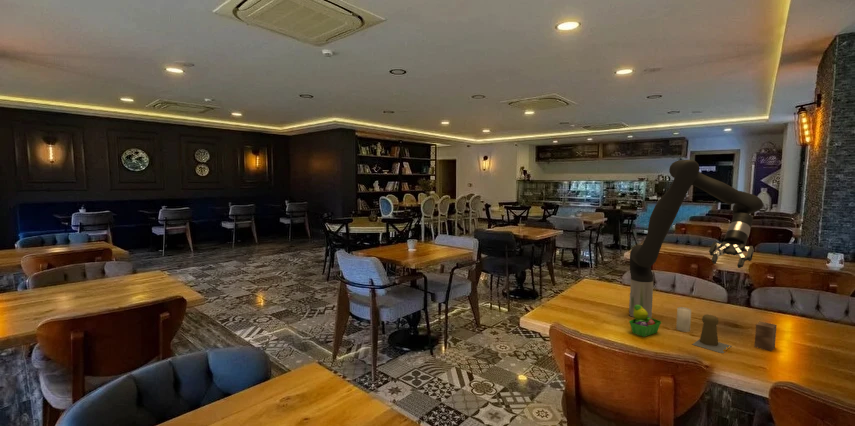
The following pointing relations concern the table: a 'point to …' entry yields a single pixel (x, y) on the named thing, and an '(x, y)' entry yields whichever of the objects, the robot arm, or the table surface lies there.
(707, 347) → the grey flat sheet
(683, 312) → the cream block
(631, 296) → the robot arm
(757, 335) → the walnut block
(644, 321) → the fruit basket
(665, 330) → the table surface
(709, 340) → the cork
